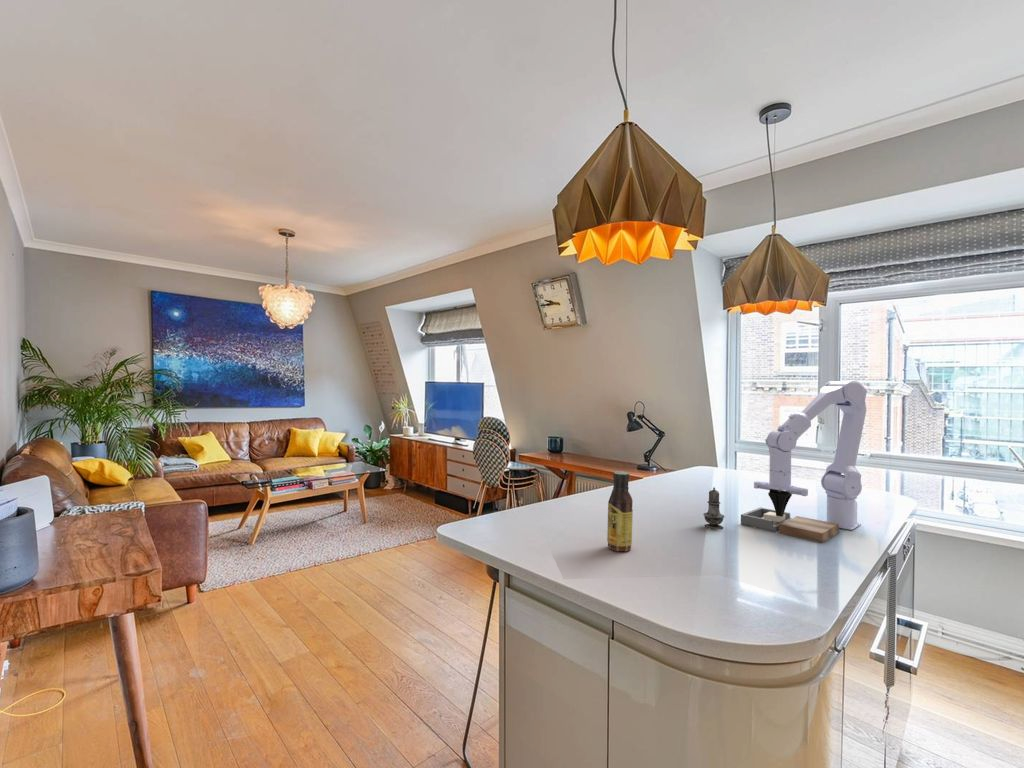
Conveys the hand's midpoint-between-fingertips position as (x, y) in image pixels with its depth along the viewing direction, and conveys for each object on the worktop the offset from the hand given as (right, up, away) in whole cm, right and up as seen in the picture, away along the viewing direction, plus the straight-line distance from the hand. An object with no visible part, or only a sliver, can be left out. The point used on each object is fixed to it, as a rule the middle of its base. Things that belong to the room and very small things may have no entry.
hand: (779, 515), depth 148 cm
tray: (-2, -3, +3) cm, 5 cm away
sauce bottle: (-53, -3, -21) cm, 57 cm away
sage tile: (-2, -3, +2) cm, 4 cm away
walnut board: (+5, -3, -6) cm, 9 cm away
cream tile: (-1, -1, +1) cm, 2 cm away
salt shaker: (-20, -3, -1) cm, 21 cm away
